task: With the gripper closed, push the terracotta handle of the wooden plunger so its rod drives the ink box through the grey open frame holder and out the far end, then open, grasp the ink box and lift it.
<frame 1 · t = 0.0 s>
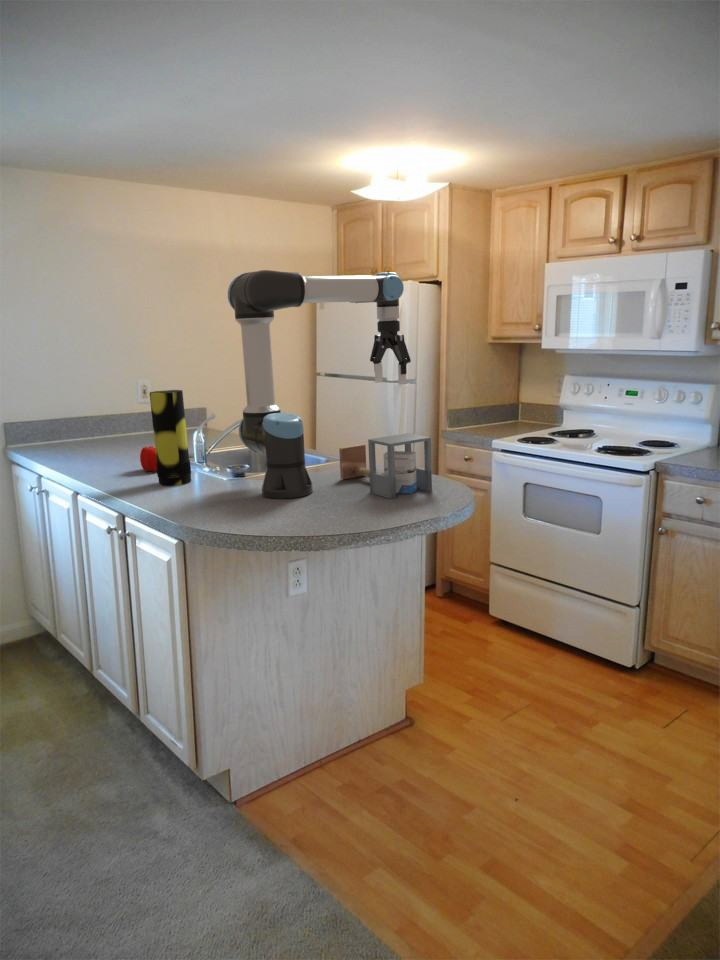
hand: (390, 383, 242), 28 cm above the countertop, fingers open, 13 cm apart
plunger: (368, 465, 219), point 5 cm above the countertop, slide at 0.0 cm
container: (175, 483, 232), on the countertop
ink box: (401, 492, 207), on the countertop
tomato: (157, 471, 253), on the countertop
grey open frame holder: (401, 491, 207), on the countertop
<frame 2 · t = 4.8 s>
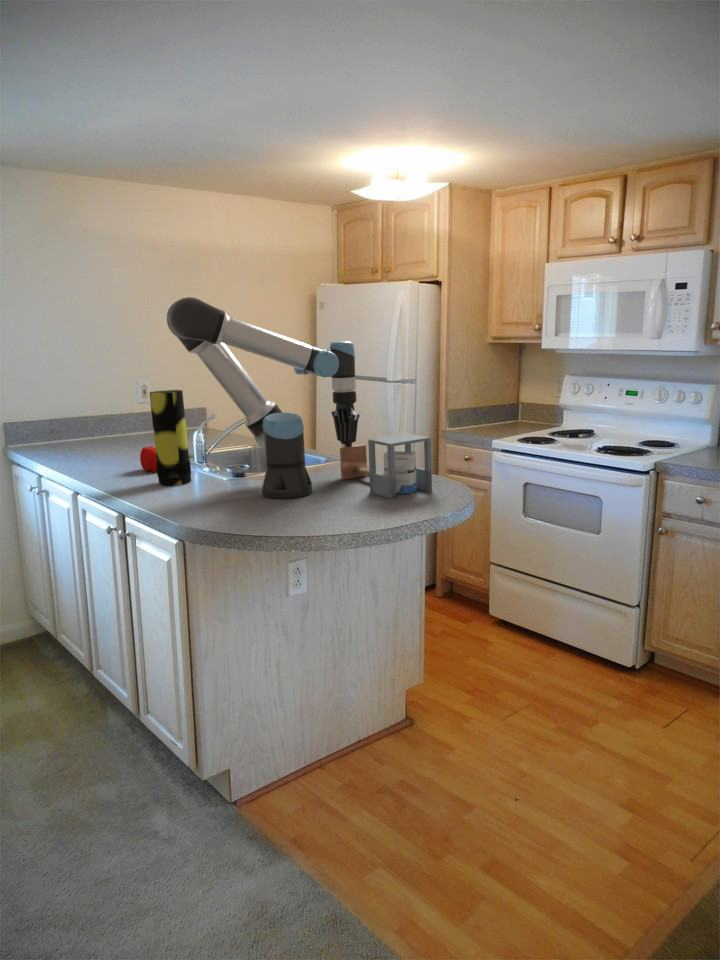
hand: (347, 463, 230), 4 cm above the countertop, fingers closed
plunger: (369, 465, 219), point 5 cm above the countertop, slide at 0.4 cm, touching gripper
everything else where it was.
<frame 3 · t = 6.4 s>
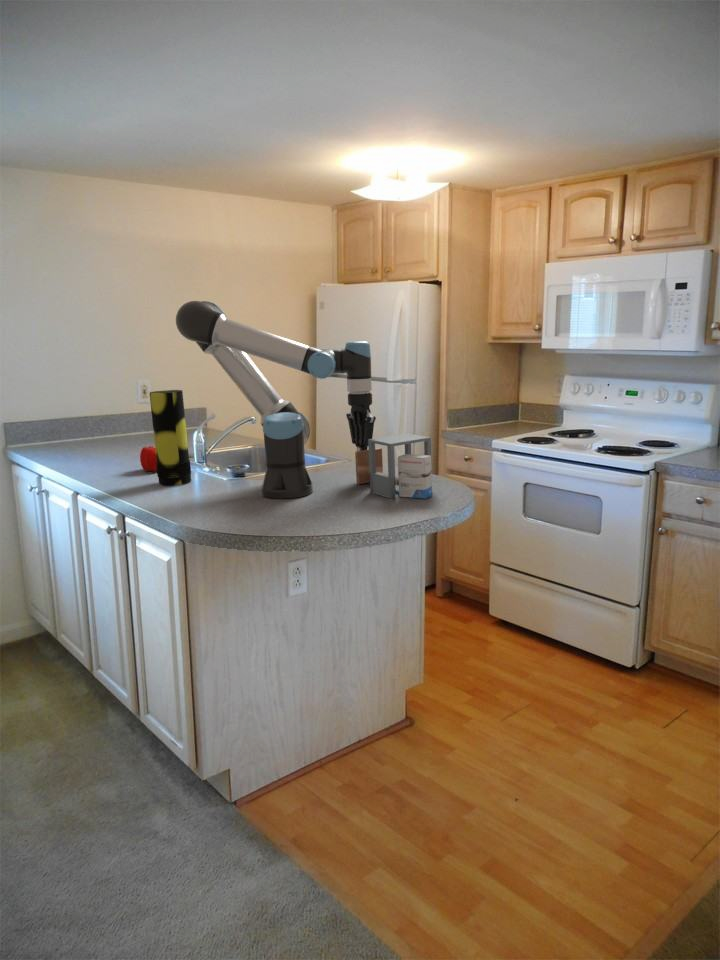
hand: (362, 467, 223), 4 cm above the countertop, fingers closed
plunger: (386, 470, 212), point 5 cm above the countertop, slide at 9.2 cm, touching gripper, ink box
ink box: (415, 496, 201), on the countertop, touching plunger
everything else where it was.
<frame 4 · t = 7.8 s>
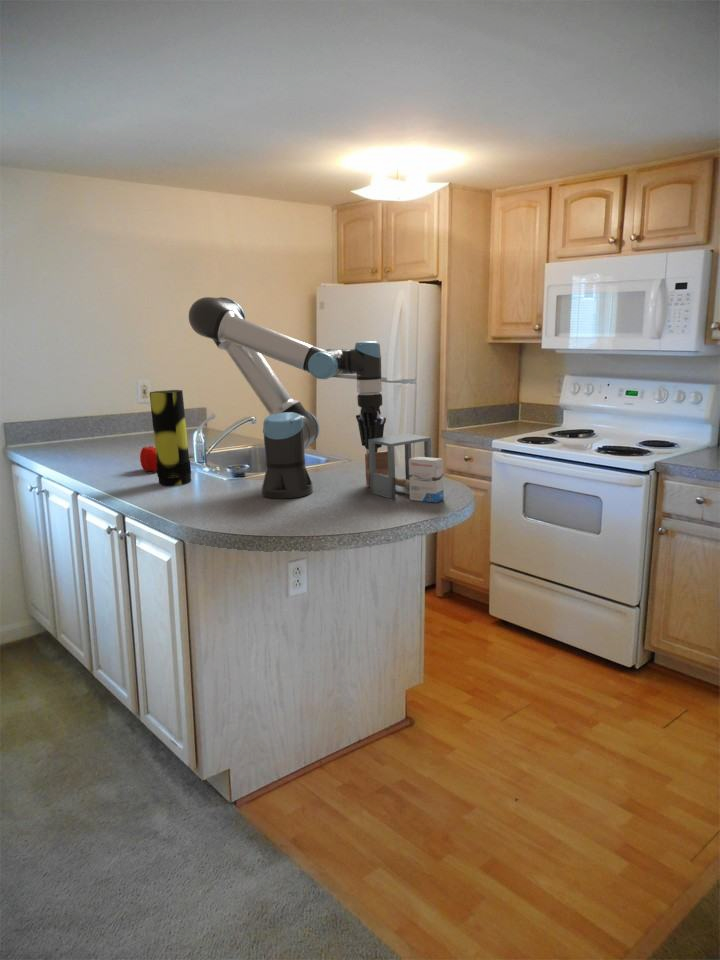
hand: (372, 469, 218), 4 cm above the countertop, fingers closed
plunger: (396, 472, 208), point 5 cm above the countertop, slide at 14.6 cm, touching gripper, ink box
ink box: (426, 500, 197), on the countertop, touching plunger
everything else where it was.
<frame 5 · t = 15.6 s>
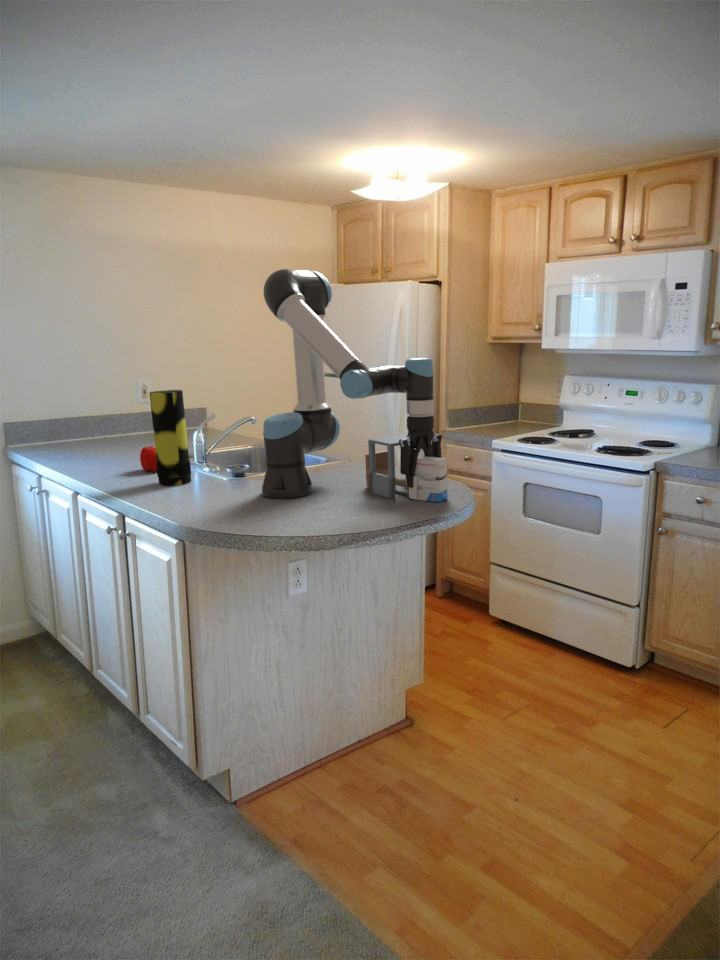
hand: (421, 496, 199), 0 cm above the countertop, fingers closed on ink box, 6 cm apart
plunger: (397, 472, 208), point 5 cm above the countertop, slide at 14.7 cm
ink box: (430, 499, 197), on the countertop, touching gripper
everything else where it was.
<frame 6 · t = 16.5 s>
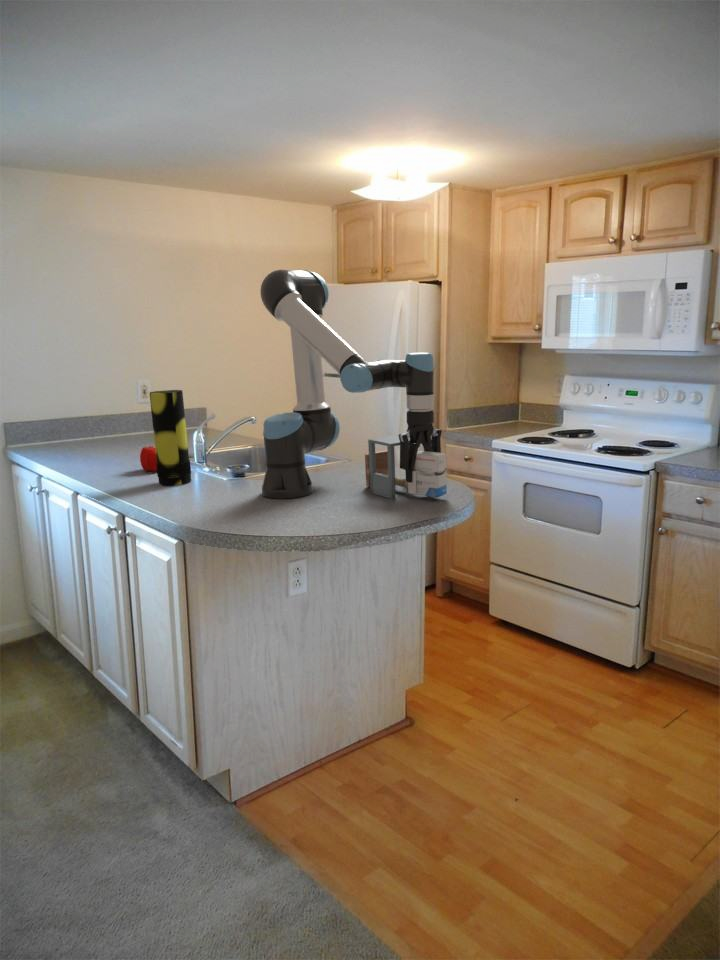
hand: (420, 491, 199), 2 cm above the countertop, fingers closed on ink box, 6 cm apart
ink box: (429, 494, 197), point 1 cm above the countertop, touching gripper
everything else where it was.
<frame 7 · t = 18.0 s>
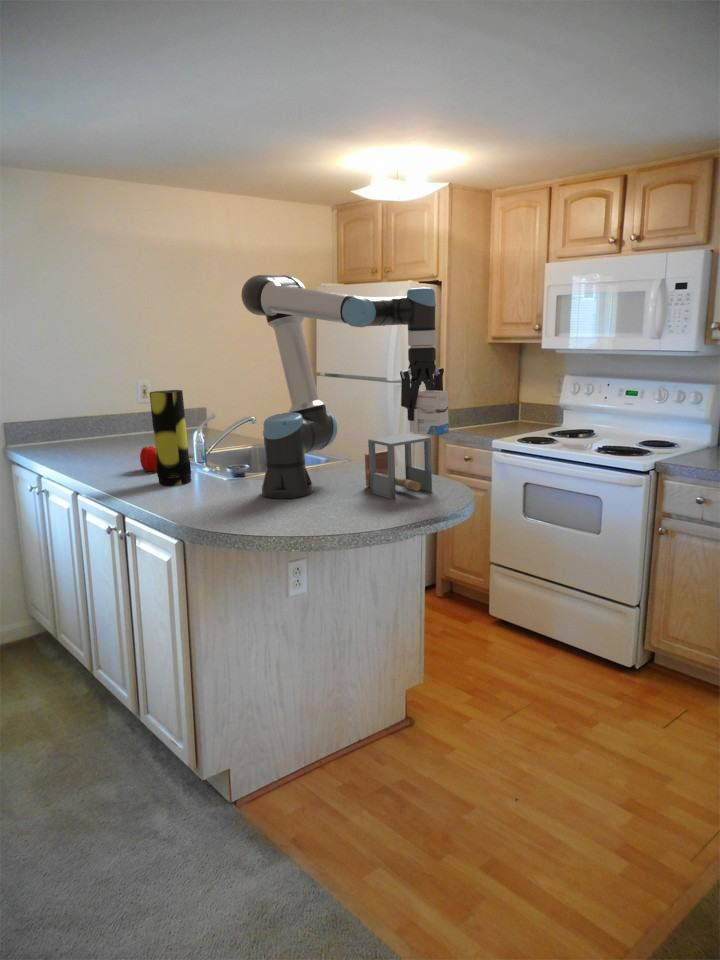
hand: (422, 430, 197), 19 cm above the countertop, fingers closed on ink box, 6 cm apart
ink box: (431, 434, 195), point 18 cm above the countertop, touching gripper
everything else where it was.
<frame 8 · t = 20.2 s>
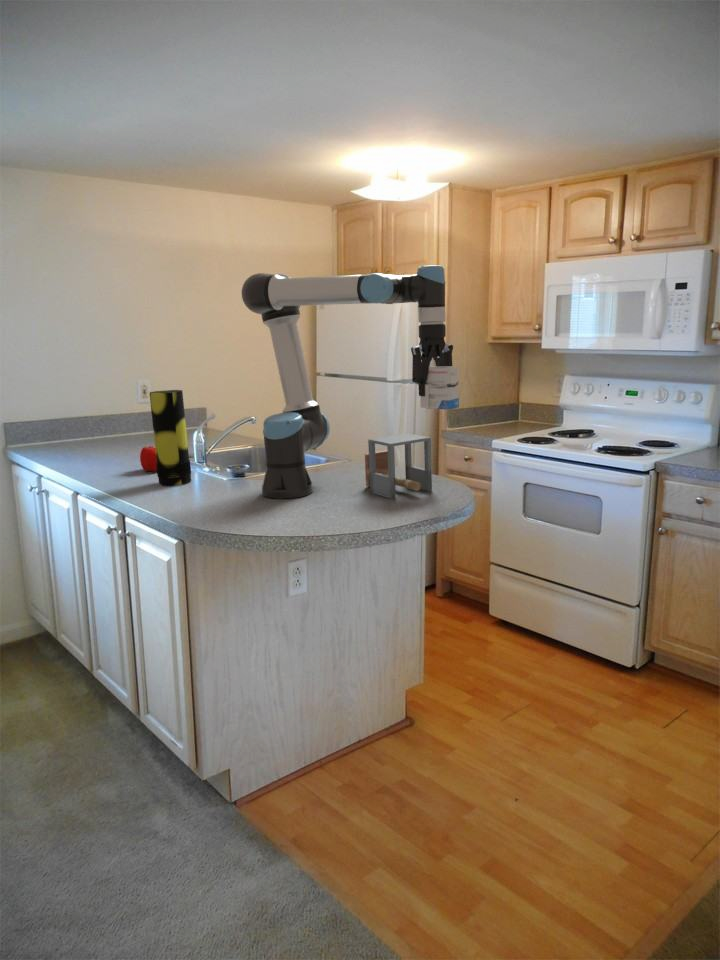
hand: (433, 406, 201), 25 cm above the countertop, fingers closed on ink box, 6 cm apart
ink box: (442, 408, 199), point 24 cm above the countertop, touching gripper
everything else where it was.
at the end: the gripper is holding ink box; ink box point 24.2 cm above the countertop; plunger slide at 14.4 cm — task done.
